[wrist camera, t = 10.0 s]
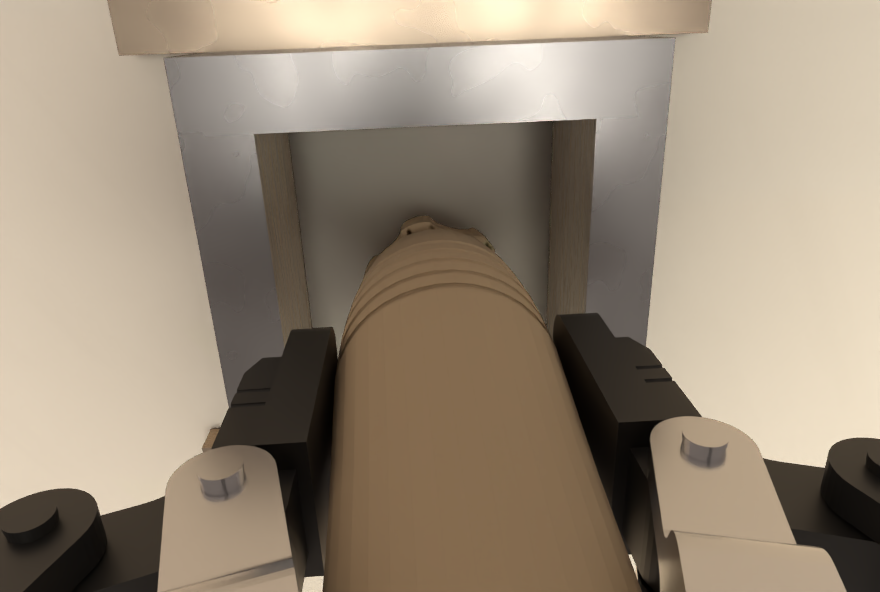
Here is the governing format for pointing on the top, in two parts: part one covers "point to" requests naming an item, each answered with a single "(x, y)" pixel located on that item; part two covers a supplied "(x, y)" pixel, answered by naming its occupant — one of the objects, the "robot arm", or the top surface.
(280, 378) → the robot arm
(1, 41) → the top surface
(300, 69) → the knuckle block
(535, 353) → the handle
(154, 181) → the top surface
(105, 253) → the top surface
